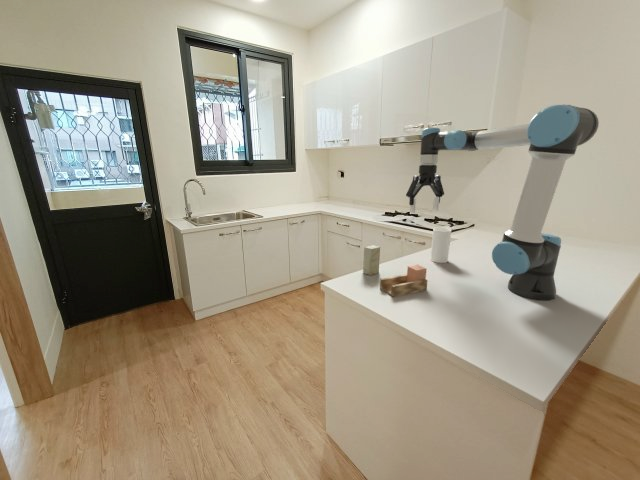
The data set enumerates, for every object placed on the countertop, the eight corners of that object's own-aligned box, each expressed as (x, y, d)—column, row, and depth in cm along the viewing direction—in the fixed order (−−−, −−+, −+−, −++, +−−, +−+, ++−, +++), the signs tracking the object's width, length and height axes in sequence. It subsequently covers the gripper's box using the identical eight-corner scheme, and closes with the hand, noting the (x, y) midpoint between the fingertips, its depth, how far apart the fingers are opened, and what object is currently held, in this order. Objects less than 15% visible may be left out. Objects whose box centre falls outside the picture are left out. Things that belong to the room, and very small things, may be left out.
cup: (449, 263, 145) (453, 231, 140) (431, 262, 146) (434, 231, 142) (445, 258, 152) (449, 228, 148) (429, 257, 154) (432, 227, 150)
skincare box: (369, 275, 129) (371, 249, 126) (362, 272, 132) (363, 246, 129) (379, 272, 133) (380, 246, 130) (371, 269, 136) (373, 244, 133)
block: (416, 281, 121) (417, 264, 119) (424, 286, 117) (426, 268, 115) (406, 283, 119) (407, 266, 117) (414, 288, 115) (416, 270, 113)
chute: (412, 282, 122) (413, 272, 121) (426, 289, 115) (427, 280, 114) (380, 288, 116) (380, 278, 115) (392, 297, 109) (393, 286, 108)
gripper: (443, 164, 141) (438, 208, 147) (400, 164, 132) (397, 211, 137) (455, 164, 134) (450, 210, 140) (411, 164, 125) (407, 214, 131)
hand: (424, 211), depth 139 cm, fingers open, 13 cm apart
